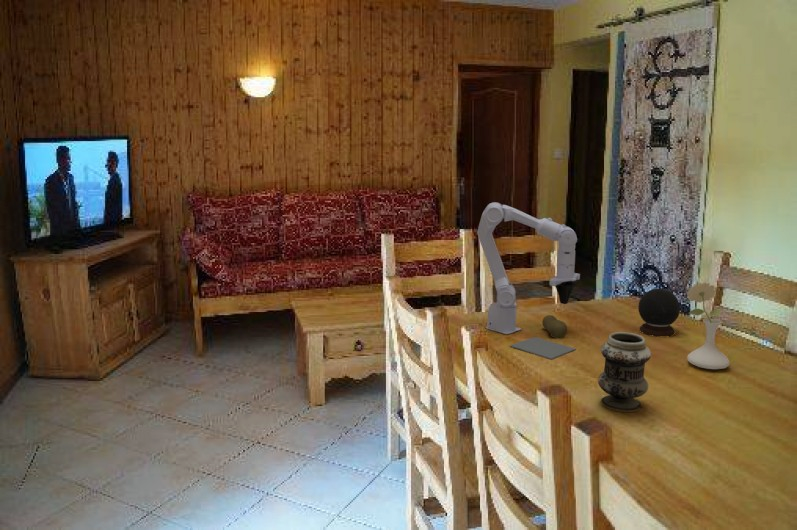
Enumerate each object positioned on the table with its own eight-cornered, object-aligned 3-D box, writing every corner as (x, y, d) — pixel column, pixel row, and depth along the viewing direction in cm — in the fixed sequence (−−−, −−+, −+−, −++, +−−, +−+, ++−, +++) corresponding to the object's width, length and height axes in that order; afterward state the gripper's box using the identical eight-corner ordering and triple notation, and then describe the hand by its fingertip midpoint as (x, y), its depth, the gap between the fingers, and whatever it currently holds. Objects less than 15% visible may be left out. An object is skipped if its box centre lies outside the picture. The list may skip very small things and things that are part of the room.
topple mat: (509, 346, 209) (509, 345, 209) (534, 337, 218) (534, 336, 218) (551, 359, 198) (551, 358, 197) (575, 349, 206) (575, 348, 206)
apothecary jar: (640, 418, 158) (646, 347, 154) (590, 407, 164) (595, 339, 160) (651, 401, 168) (656, 334, 164) (603, 391, 174) (608, 326, 170)
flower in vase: (728, 362, 195) (737, 280, 190) (729, 375, 185) (739, 289, 180) (681, 356, 200) (688, 276, 195) (679, 368, 190) (687, 285, 185)
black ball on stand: (681, 329, 226) (684, 287, 223) (673, 340, 215) (677, 296, 212) (641, 323, 233) (644, 282, 230) (632, 333, 222) (635, 290, 219)
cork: (568, 336, 217) (557, 328, 228) (566, 319, 216) (555, 311, 227) (550, 340, 217) (541, 331, 228) (548, 322, 216) (538, 314, 227)
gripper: (563, 269, 210) (561, 309, 213) (588, 262, 220) (586, 301, 223) (545, 265, 215) (543, 305, 218) (570, 259, 225) (568, 297, 228)
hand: (563, 303), depth 221 cm, fingers closed
